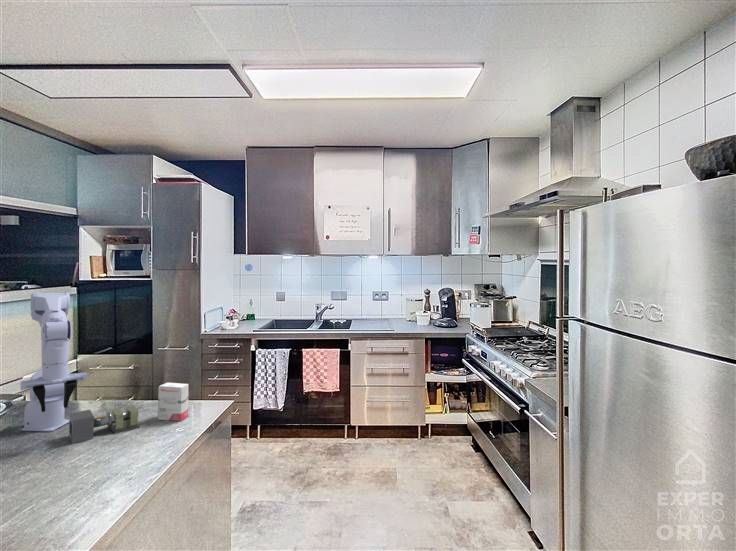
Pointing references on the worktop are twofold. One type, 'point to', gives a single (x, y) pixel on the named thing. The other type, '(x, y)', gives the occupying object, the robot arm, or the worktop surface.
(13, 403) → the worktop surface
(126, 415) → the shaft rig
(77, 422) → the grey housing block
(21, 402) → the worktop surface
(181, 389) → the ink box
